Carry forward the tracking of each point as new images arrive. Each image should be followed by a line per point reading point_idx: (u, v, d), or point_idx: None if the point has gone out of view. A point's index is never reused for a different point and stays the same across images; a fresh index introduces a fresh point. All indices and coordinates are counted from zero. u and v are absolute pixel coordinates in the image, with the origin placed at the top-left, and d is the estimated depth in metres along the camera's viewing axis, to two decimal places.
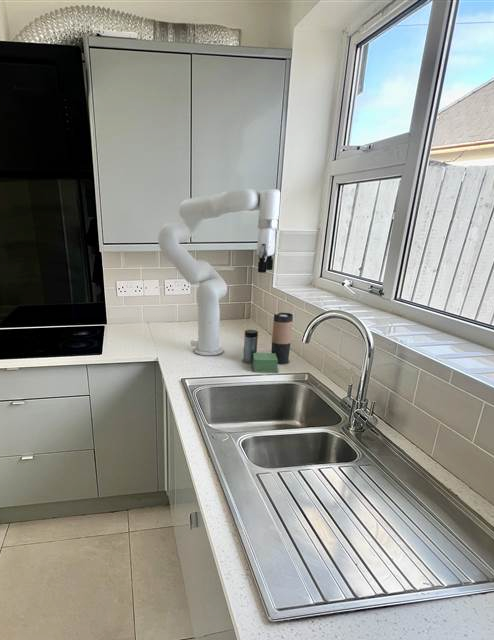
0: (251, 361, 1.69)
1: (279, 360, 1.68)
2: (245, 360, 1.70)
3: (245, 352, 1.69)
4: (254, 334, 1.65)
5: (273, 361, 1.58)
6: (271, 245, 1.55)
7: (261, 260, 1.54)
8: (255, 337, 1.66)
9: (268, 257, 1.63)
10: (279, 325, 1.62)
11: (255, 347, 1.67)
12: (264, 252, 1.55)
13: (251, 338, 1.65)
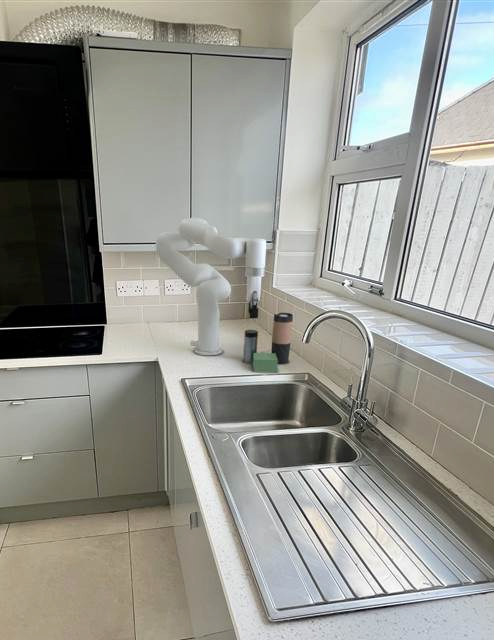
0: (251, 361, 1.69)
1: (279, 360, 1.68)
2: (245, 360, 1.70)
3: (245, 352, 1.69)
4: (254, 334, 1.65)
5: (273, 361, 1.58)
6: (260, 291, 1.58)
7: (254, 307, 1.57)
8: (255, 337, 1.66)
9: None
10: (279, 325, 1.62)
11: (255, 347, 1.67)
12: None
13: (251, 338, 1.65)
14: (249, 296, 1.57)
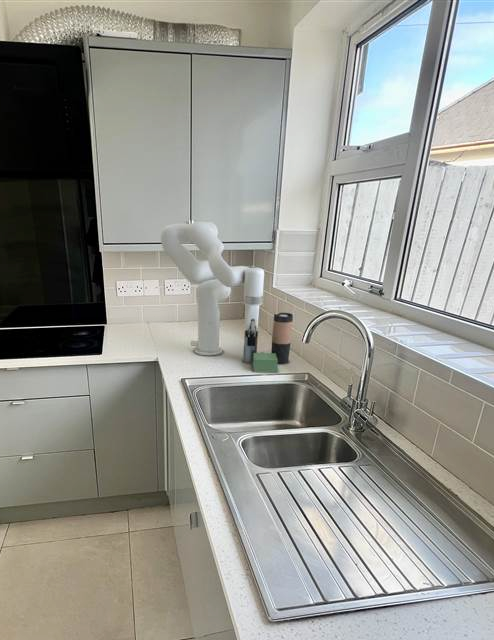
0: (251, 361, 1.69)
1: (279, 360, 1.68)
2: (245, 360, 1.70)
3: (245, 352, 1.69)
4: None
5: (273, 361, 1.58)
6: None
7: (251, 335, 1.63)
8: None
9: None
10: (279, 325, 1.62)
11: (255, 347, 1.67)
12: None
13: None
14: (247, 324, 1.61)
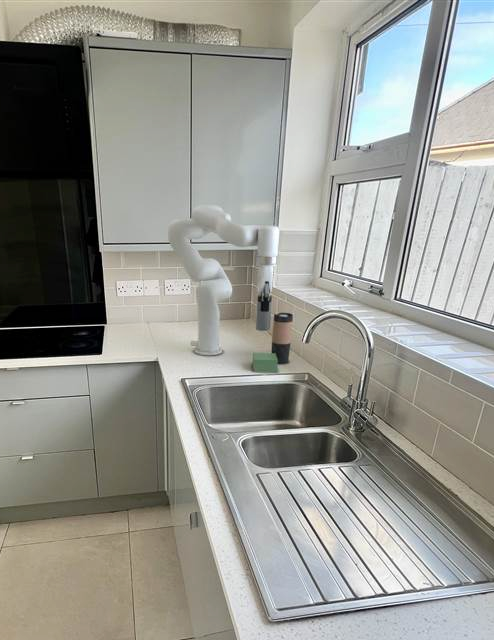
0: (264, 328, 1.57)
1: (279, 360, 1.68)
2: (258, 328, 1.58)
3: (258, 319, 1.57)
4: None
5: (273, 361, 1.58)
6: None
7: (265, 300, 1.51)
8: None
9: None
10: (279, 325, 1.62)
11: (269, 313, 1.56)
12: None
13: None
14: (261, 286, 1.49)
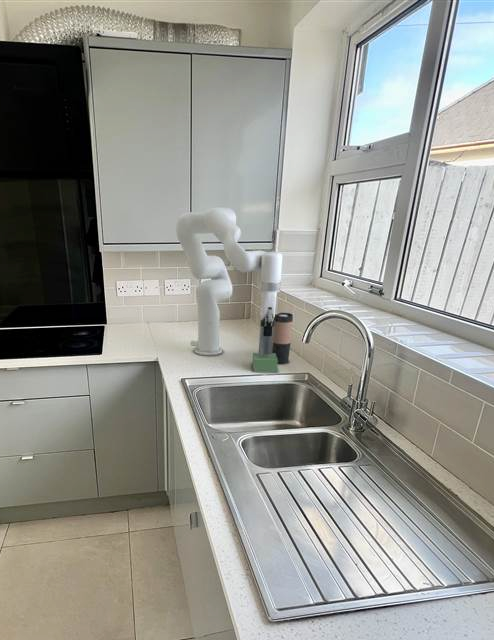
0: (267, 352, 1.58)
1: (279, 360, 1.68)
2: (261, 351, 1.59)
3: (261, 343, 1.58)
4: None
5: (273, 361, 1.58)
6: None
7: (268, 325, 1.52)
8: (272, 327, 1.55)
9: None
10: (279, 325, 1.62)
11: (272, 337, 1.57)
12: None
13: None
14: (264, 312, 1.50)
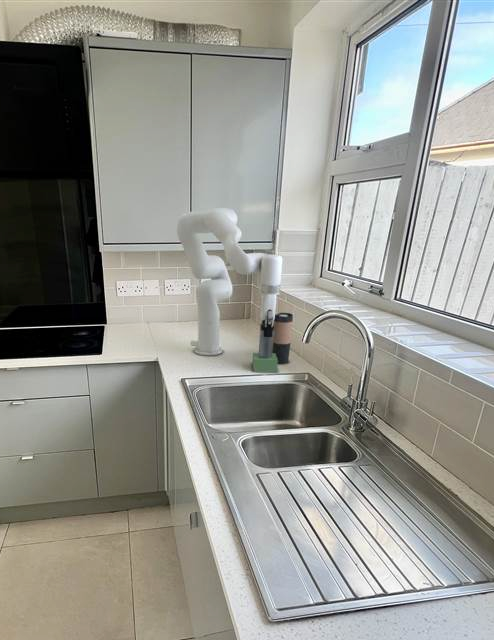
0: (267, 356, 1.59)
1: (279, 360, 1.68)
2: (260, 355, 1.60)
3: (261, 347, 1.59)
4: None
5: (273, 361, 1.58)
6: None
7: (268, 326, 1.51)
8: None
9: None
10: (279, 325, 1.62)
11: (271, 341, 1.57)
12: None
13: None
14: (264, 314, 1.51)
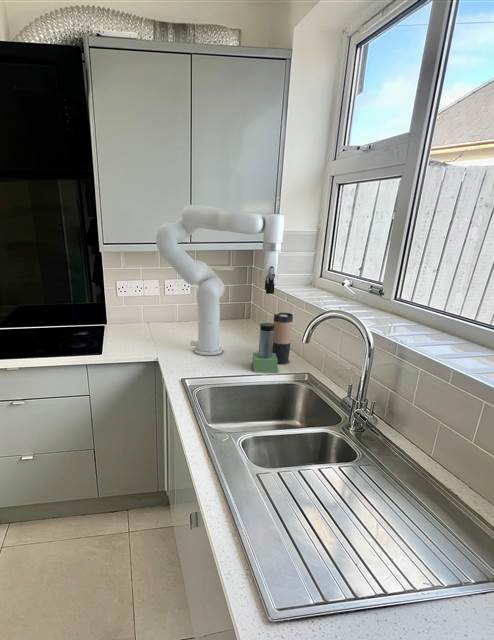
0: (267, 356, 1.59)
1: (279, 360, 1.68)
2: (260, 355, 1.60)
3: (261, 347, 1.59)
4: (271, 327, 1.55)
5: (273, 361, 1.58)
6: None
7: (270, 282, 1.59)
8: (272, 331, 1.56)
9: None
10: (279, 325, 1.62)
11: (271, 341, 1.57)
12: None
13: (267, 332, 1.55)
14: (266, 271, 1.59)
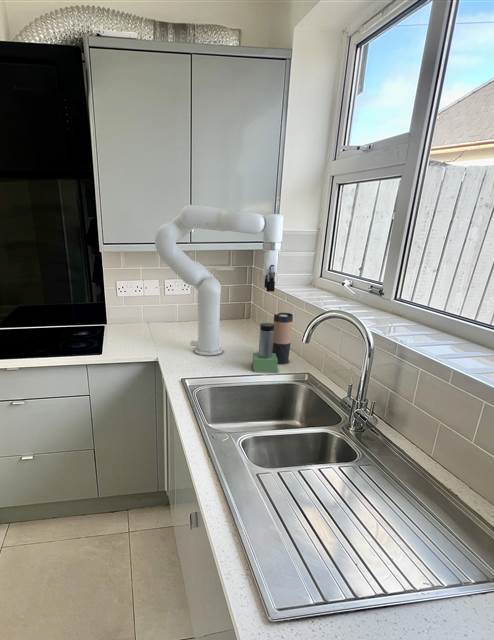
0: (267, 356, 1.59)
1: (279, 360, 1.68)
2: (260, 355, 1.60)
3: (261, 347, 1.59)
4: (271, 327, 1.55)
5: (273, 361, 1.58)
6: None
7: (271, 280, 1.63)
8: (272, 331, 1.56)
9: (268, 276, 1.74)
10: (279, 325, 1.62)
11: (271, 341, 1.57)
12: (271, 272, 1.65)
13: (267, 332, 1.55)
14: (266, 270, 1.63)
